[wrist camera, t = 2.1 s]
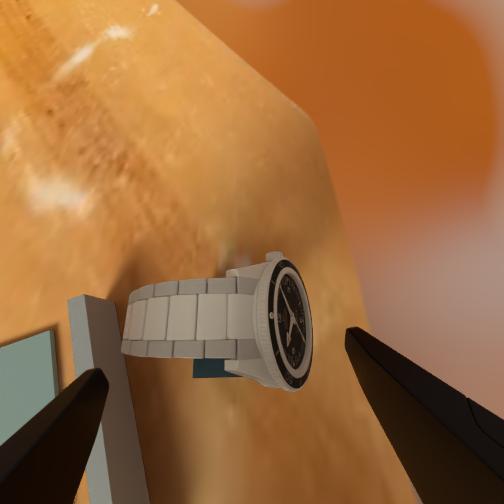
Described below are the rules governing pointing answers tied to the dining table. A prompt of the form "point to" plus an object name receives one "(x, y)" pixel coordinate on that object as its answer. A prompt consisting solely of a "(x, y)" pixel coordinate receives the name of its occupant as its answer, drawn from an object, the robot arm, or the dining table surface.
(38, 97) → the dining table surface
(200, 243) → the dining table surface
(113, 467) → the acrylic wall
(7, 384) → the mat
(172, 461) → the dining table surface
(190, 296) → the watch
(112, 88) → the dining table surface
